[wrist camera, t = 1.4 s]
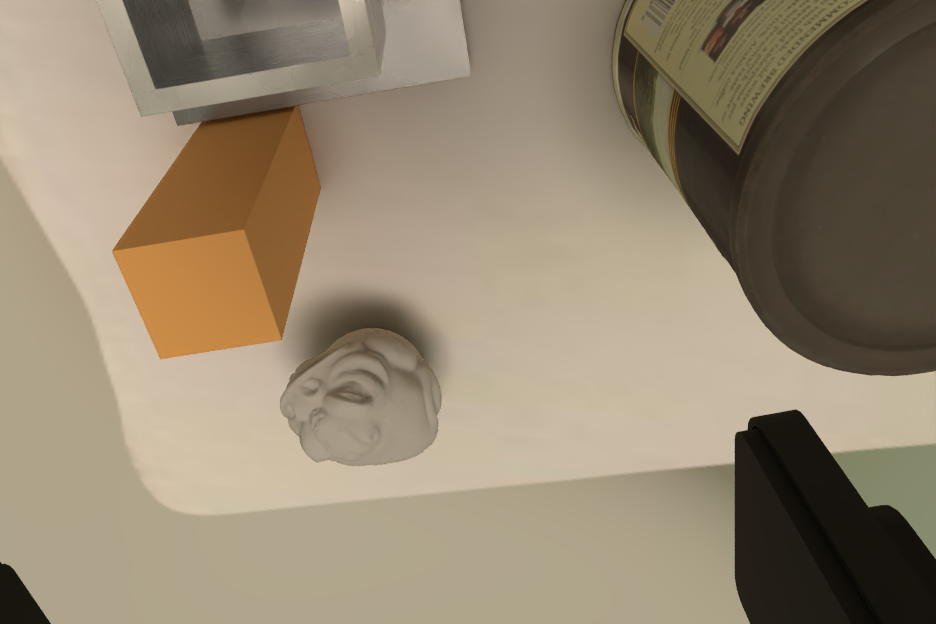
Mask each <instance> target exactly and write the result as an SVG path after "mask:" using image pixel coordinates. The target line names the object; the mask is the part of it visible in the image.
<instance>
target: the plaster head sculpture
mask: <svg viewBox="0 0 936 624" xmlns="http://www.w3.org/2000/svg"><path fill="white" fill-rule="evenodd" d="M440 408H441V390H440V385H439V383H438V380H437V378H436V376H435V374H434V372H433V370H432V369H431V368H430V367H429V365H428V363H427V362H426V361H425V360H423V358H422V356H421V354H420V353H419V352H418V350H417V349H416V348H415V347H414V346H413V345H412V344H411V343H410V342H409V341H408V340H407V339H405V338H404V337H402V336H401V335H399V334H396V333H394V332H392V331H390V330H385V329H380V328H366V329H359V330H356V331H353V332H350V333H348V334H346V335H344V336H342V337H340V338H339V339H338V340H336V341H335V342H334V343H333V344H332V345H331V346H330V347H329V348H328V349H327V350H326V352H322V353H321V354H319V355H317V356H316V357H314V358H312V359H310V360H307V361H305V362H304V363H302V364H301V365H300V366H299V367H298V368H297V369H296V371H295V373H294V374H292V375H291V377H290V381H289V383H288V385H287V388H286V390H285V391H284V393H283V395H282V397H281V399H280V409H281V412H282V414H283V415H284V416H285V417H286V418H288V421H289V426H290V428H291V429H292V430H293V431H294V432H295V434H297V435H298V436H299V437H300V443H301V446H302V448H303V450H304V451H305V453H306V454H307V455H308V456H309V457H310V458H312V459H313V460H314V461H316V462H317V463H318V462H321V461H325V460H331V461H337V462H338V463H341V464H345V465H349V466H364V465H382V464H387V463H393V462H399V461H403V460H407V459H409V458H412V457H415V456H417V455H419V454H420V453H422V452H423V451H424V450H425V449H427V448H428V447H429V446H430V445H432V443H433V442H434V440H435V438H436V435H437V432H438V418H437V415H438V413H439V411H440Z"/></svg>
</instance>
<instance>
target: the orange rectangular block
mask: <svg viewBox="0 0 936 624" xmlns="http://www.w3.org/2000/svg"><path fill="white" fill-rule="evenodd" d="M320 189H321V186H320V183H319V179H318V176H317V172H316V168H315V165H314V161H313V157H312V154H311V150H310V146H309V143H308V139H307V135H306V132H305V128H304V125H303V121H302V117H301V114H300V110H299V106H298V105H296V106H291V107H285V108H279V109H273V110H267V111H261V112H255V113H249V114H244V115H238V116H232V117H226V118H220V119H214V120H208V121H202V123H201V124H200V125H199V127H198V128H197V130H196V131H195V133H194V134H193V135H192V137H191V138H190V140H189V141H188V143H187V144H186V145H185V147H184V148H183V150H182V151H181V153H180V154H179V156H178V157H177V158H176V160H175V161H174V163H173V164H172V166H171V167H170V168H169V170H168V171H167V173H166V174H165V176H164V177H163V179H162V180H161V181H160V183H159V184H158V186H157V187H156V189H155V190H154V191H153V193H152V194H151V196H150V197H149V199H148V200H147V202H146V203H145V204H144V206H143V207H142V209H141V210H140V212H139V213H138V214H137V216H136V217H135V219H134V220H133V222H132V223H131V225H130V226H129V227H128V229H127V230H126V232H125V233H124V235H123V236H122V237H121V239H120V240H119V242H118V243H117V245H116V246H115V247H114V249H113V250H112V253H113V255H114V257H115V259H116V262H117V264H118V266H119V268H120V270H121V273H122V275H123V277H124V279H125V282H126V284H127V286H128V288H129V290H130V293H131V295H132V297H133V299H134V302H135V304H136V306H137V308H138V310H139V313H140V315H141V317H142V319H143V321H144V324H145V326H146V328H147V330H148V333H149V335H150V337H151V339H152V341H153V344H154V346H155V348H156V350H157V353H158V355H159V357H160V359H165V358H171V357H178V356H184V355H190V354H197V353H203V352H209V351H215V350H222V349H228V348H234V347H240V346H247V345H253V344H259V343H266V342H272V341H278V340H282V337H283V333H284V329H285V325H286V321H287V317H288V313H289V309H290V305H291V302H292V298H293V294H294V290H295V286H296V282H297V278H298V274H299V270H300V267H301V263H302V259H303V255H304V251H305V247H306V243H307V239H308V236H309V232H310V228H311V224H312V220H313V216H314V212H315V208H316V204H317V201H318V197H319V193H320Z"/></svg>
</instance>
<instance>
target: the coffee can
mask: <svg viewBox="0 0 936 624" xmlns="http://www.w3.org/2000/svg"><path fill="white" fill-rule="evenodd" d="M612 61H613V64H612V70H613V81H614V87H615V91H616V96H617V99H618V103H619V105H620V108H621V111H622V113H623V115H624V117H625V120H626V122H627V124H628V125H629V127H630V128H631V130H632V131H633V133H634V134H635V135H636V137H637V138H638V139H639V140H640V141H641V142H642V143H643V144H644V145H645V146H646V147H647V149H648V150H649V151H650V152H651V154H652V156H653V157H654V158H655V160H656V161H657V163H658V164H659V165H660V166H661V168H662V169H663V171H664V172H665V173H666V175H667V176H668V177H669V179H670V180H671V182H672V183H673V184H674V186H675V187H676V189H677V190H678V191H679V193H680V194H681V196H682V197H683V199H684V200H685V201H686V203H687V204H688V206H689V207H690V209H691V210H692V212H693V213H694V215H695V216H696V217H697V219H698V220H699V222H700V223H701V225H702V226H703V228H704V229H705V231H706V232H707V233H708V235H709V237H710V238H711V240H712V241H713V243H714V244H715V245H716V247H717V249H718V250H719V251H720V253H721V254H722V256H723V257H724V258H725V259H726V260H727V261H728V263H729V264H730V265H731V267H732V269H733V270H734V271H735V273H736V275H737V277H738V280H739V282H740V284H741V287H742V289H743V291H744V294H745V295H746V297H747V299H748V301H749V302H750V304H751V306H752V307H753V309H754V311H755V312H756V313H757V315H758V316H759V318H760V319H761V321H762V322H763V323H764V325H765V326H766V327H767V328H768V329H769V330H770V331H771V332H772V333H773V335H774V336H776V337H777V338H778V339H779V340H780V341H781V342H782V343H784V344H785V345H786V346H787V347H789V348H790V349H791V350H793V351H795V352H796V353H798V354H800V355H801V356H803V357H805V358H807V359H809V360H811V361H813V362H816V363H818V364H821V365H823V366H826V367H831V368H833V369H837V370H841V371H846V372H851V373H858V374H865V375H884V376H900V375H911V374H919V373H926V372H932V371H936V0H626V3H625V5H624V8H623V10H622V13H621V16H620V18H619V21H618V23H617V28H616V33H615V41H614V47H613V56H612Z"/></svg>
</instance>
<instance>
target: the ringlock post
mask: <svg viewBox="0 0 936 624" xmlns="http://www.w3.org/2000/svg"><path fill="white" fill-rule="evenodd" d="M96 1H97V4H98V7H99V9H100V12H101V14H102V17H103V19H104V22H105V25H106V27H107V30H108V32H109V35H110V38H111V40H112V43H113V45H114V48H115V50H116V53H117V56H118V58H119V61H120V63H121V66H122V69H123V71H124V74H125V76H126V79H127V81H128V84H129V87H130V89H131V92H132V94H133V97H134V100H135V102H136V105H137V107H138V110H139V112H140V115H141V117H142V116H148V115H154V114H159V113H165V112H171V111H172V112H173V115H174V117H175V120H176V123H177V126H179V125H185V124H191V123H197V122H202V121H208V120H214V119H220V118H226V117H232V116H238V115H244V114H249V113H255V112H261V111H267V110H273V109H279V108H285V107H291V106H296V105H302V104H308V103H314V102H320V101H326V100H332V99H338V98H343V97H349V96H355V95H361V94H367V93H373V92H379V91H384V90H390V89H396V88H402V87H408V86H414V85H420V84H426V83H431V82H437V81H443V80H449V79H455V78H461V77H467V76H471V71H470V64H469V58H468V51H467V45H466V38H465V31H464V25H463V18H462V12H461V5H460V0H96Z"/></svg>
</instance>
